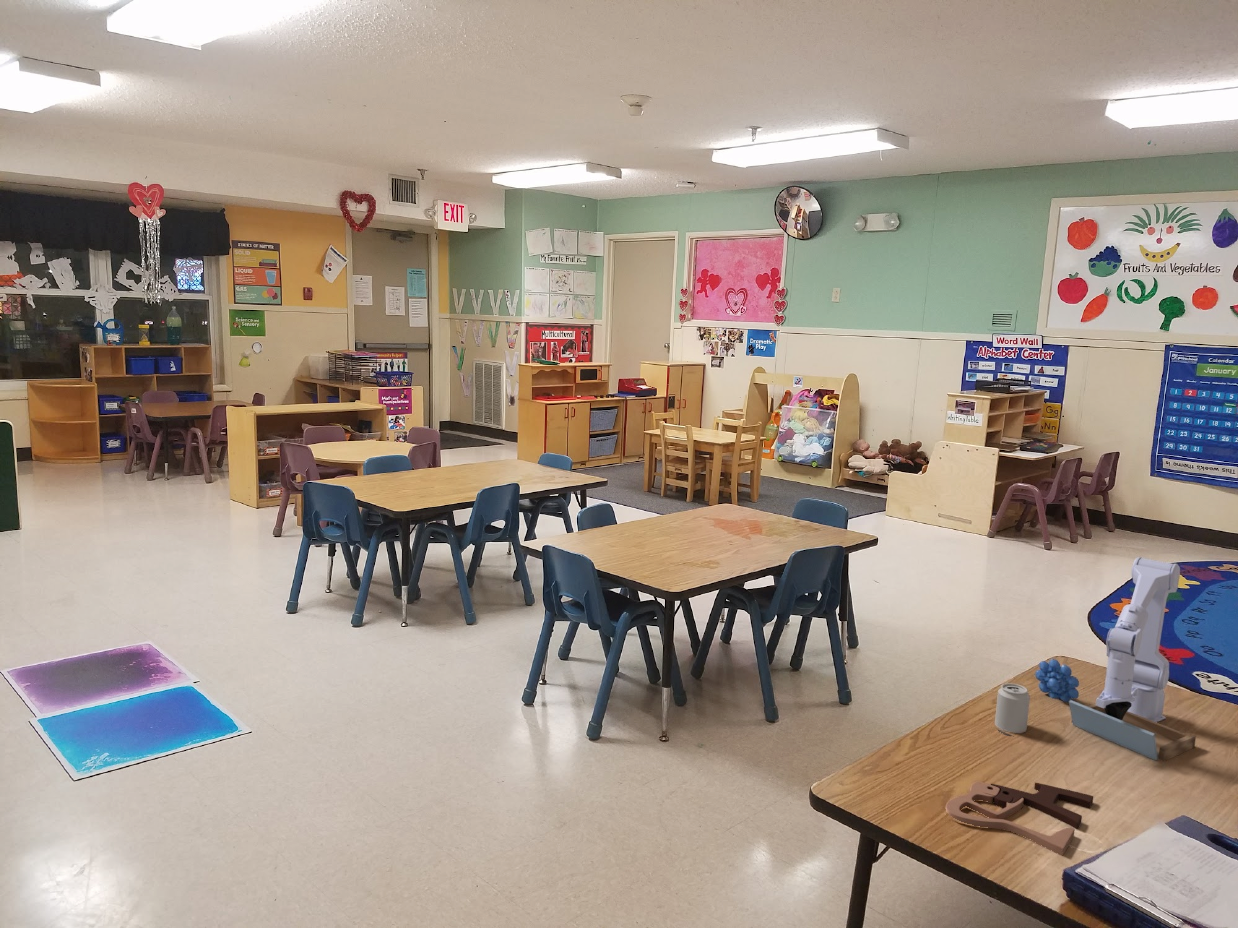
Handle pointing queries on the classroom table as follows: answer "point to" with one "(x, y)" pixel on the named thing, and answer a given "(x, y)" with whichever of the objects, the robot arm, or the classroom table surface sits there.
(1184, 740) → the tray
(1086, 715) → the panel
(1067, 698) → the grapes
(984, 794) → the wood carving
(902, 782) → the classroom table surface
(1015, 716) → the can
